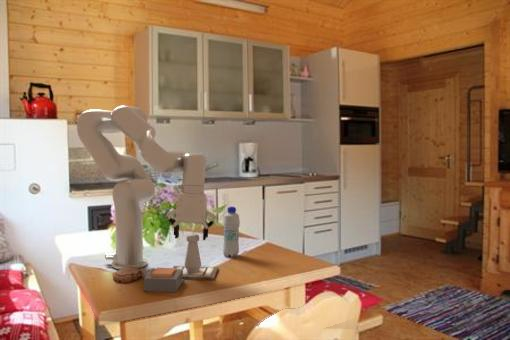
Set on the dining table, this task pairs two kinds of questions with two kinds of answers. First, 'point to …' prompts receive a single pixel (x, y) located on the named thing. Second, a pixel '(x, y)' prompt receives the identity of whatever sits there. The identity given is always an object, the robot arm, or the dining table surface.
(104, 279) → the dining table surface
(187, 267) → the salt shaker
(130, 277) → the cookie
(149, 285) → the button housing
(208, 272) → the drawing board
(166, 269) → the button
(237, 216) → the bottle
